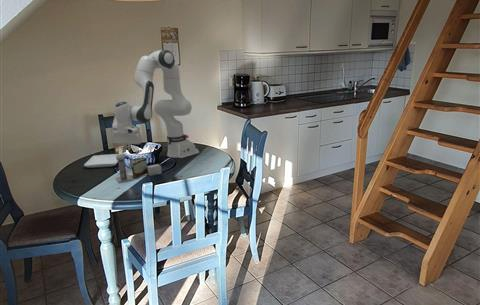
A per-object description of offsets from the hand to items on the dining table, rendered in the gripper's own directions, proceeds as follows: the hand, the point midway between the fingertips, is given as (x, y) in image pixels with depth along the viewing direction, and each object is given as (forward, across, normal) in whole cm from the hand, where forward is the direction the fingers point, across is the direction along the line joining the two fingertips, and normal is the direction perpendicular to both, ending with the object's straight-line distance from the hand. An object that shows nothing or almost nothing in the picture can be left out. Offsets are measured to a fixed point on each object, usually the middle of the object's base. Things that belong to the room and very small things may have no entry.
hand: (128, 150), depth 232 cm
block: (+13, +19, -3) cm, 23 cm away
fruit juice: (+13, -32, +33) cm, 47 cm away
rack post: (+13, +7, -17) cm, 22 cm away
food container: (+13, +11, -8) cm, 19 cm away
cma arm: (0, +1, -9) cm, 9 cm away
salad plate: (+13, -25, +6) cm, 29 cm away
